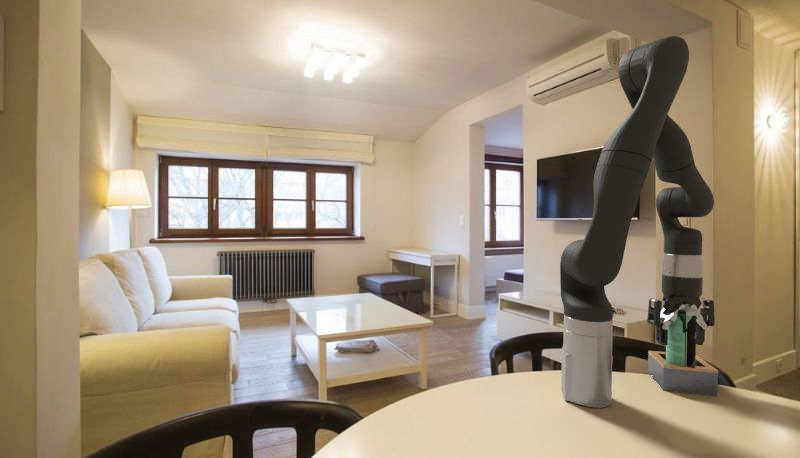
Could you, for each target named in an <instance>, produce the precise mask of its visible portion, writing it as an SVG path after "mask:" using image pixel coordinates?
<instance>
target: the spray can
mask: <svg viewBox="0 0 800 458" xmlns="http://www.w3.org/2000/svg"><path fill="white" fill-rule="evenodd" d="M682 305H685V308H683V309H681V310H678V313H677V319H676V320H675V321H674V322H672V323H671V324H670V325H669V326H668V328H667V330H668V344H667V345H665V352H666V361H667V362H668V363H669V364H679V365H690V366H695V360H696V355H697V354H696V352H697V351H696V349H697V348H696V347H697V344H696V312H695V311H696V310H694V309H693V308H691V307H690V306H689V304H687V302H682ZM674 310H675V309H674ZM670 315H671V313H667V316H670Z"/></svg>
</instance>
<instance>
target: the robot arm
mask: <svg viewBox="0 0 800 458" xmlns="http://www.w3.org/2000/svg"><path fill="white" fill-rule="evenodd" d="M689 49H690V48H689V45H688V43H687V42H686V40H685V39H684V38H683V37H680V36H679V35H678V36H677V35H672V36H667V37H661V38H660V39H657V40H653V41H651V42H648V43H644V44H642V45H639V46H637V47H634V48H631V49H630V50H628V51H626V52H625V53H624V54H623V55H622V56H621V59H620V60H619V63H618V68H617V69H618V71H617V72H618V74H617V75H618V79H619V82H620V85H621V88H622V91H623V92H624V95H625V96H626V99H627V100H628V103H629V105H630V107H631V109H632V110H631V112H630V113H629V114H628V115H627V116H626V117H625V119H623V121H622V122H621V123H619V125H618V126H617V128H616V129H614V131H613V132H611V133H612V134H611V135H610V136H609V137H608V139H607V140H606V141H605V143H604V145H603V147H602V150H601V151H600V155H599V159H598V161H597V164H596V167H595V172H594V176H593V189H592V190H593V212H592V216H591V217H592V218H591V220H590V222H589V226H588V229H587V231H586V234H585V237H584V239H577V240H574V241H572V242H570V243H569V244H567V245H566V246H565V247H564V249H563V250H562V253H561V255H560V265H559V267H560V269H559V275H560V276H559V277H560V282H559V283H560V298H561V299H560V300H561V302H562V304H563V305H562V306H563V342H562V344H563V346H561V377H560V378H561V382H560V383H561V385H560V388H561V392H562V395H563V398H564V401H565V402H567V401H568V402H571V403H574V404H577V405H580V406H583V407H589V408H599V409H600V408H607V407H608V406H610V405H611V404H612V395H613V390H612V389H613V388H612V387H613V386H612V385H613V327H614V325H613V320H614V319H613V317H614V316H613V315H614V308H613V305H612V304H611V302H610V300H609V298H608V297H607V294H606V289H605V287H606V286H607V285H609V284H611V283H612V282H614V281H615V279H616V278H617V277H618V275H619V273H620V271H621V268H622V264H623V260H624V254H625V250H626V244H627V242H628V241H627V239H628V235H629V230H630V226H631V222H632V219H633V217H634V213H635V211H636V207H637V205H638V202H639V199H640V195H641V193H642V190H643V186H644V184H645V181H646V179H647V176H648V173H649V171H650V167H651V165H652V160H653V163H654V168H655V172H656V175H657V177H658V179H659V180H660V181H661V182H664V183H668V184H674V185H678V186H676V187H673V186H672V187H666V188H663V189H661V190H660V191H659V192H658V194H657V196H656V199H655V209H656V211H657V216H658V217H659V221H660V224H661V225H660V226H661V229H662V233H663V257H662V262H661V263H662V264H661V292H662V294H663V297H662V299H656V298H654V297H651V298H649V299H648V308H647V309H648V310H647V324H648V325H652V326H654V327H655V340H656V342H657V344H659V345H661V346H666V345H667V344H668V330H667V328H668V326H669V325H670V324H671V323H672V322H674V321H675V320H676V319H677V313H678V310H681V309H683V308H685V305H682V302H687V304H689V306H690V307H691V308H693V309H694V310H696V311H695V312H696V346H703V345H704V343H705V342H706V341H705V336H706V330H707V329H708V327H714V326H715V323H716V321H715V301H714V300H711V299H709V298H705V297H704V298H703V297H702V295H703V288H704V287H703V284H704V283H703V281H704V279H703V276H704V275H703V274H704V262H703V255H702V254H703V233H702V231H700V230H699V229H696V228H692V227H687V226H684V225H682V223H681V222H680V219H679V218H704V217H706V216H708V215H709V214H710V213H711V212H712V210H713V208H714V205H715V198H714V194H713V192H712V190H711V188H710V187H709V185H708V183H707V182H706V181H705V179H704V178H703V176H702V174H701V173H700V171H699V170H698V168H697V166H696V163H695V159H694V154H693V151H692V147H691V143H690V140H689V137H688V136H687V133H686V132H685V131H684V130H683V129H682V128H681V126H680V125H679V124H677V122H676V121H675V120H674V119H673V118H672V117H671V116H670V115H669V112H670V109H671V107H672V105H673V103H674V100H675V99H676V97H677V94H678V92H679V89H680V88H681V85H682V83H683V80H684V78H685V75H686V72H687V71H688V70H687V69H688V65H689V60H690V50H689ZM700 297H702V298H700ZM674 309H675V310H674ZM699 309H700V311H699ZM667 313H671V315H670V316H667Z"/></svg>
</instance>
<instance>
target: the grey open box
mask: <svg viewBox="0 0 800 458" xmlns="http://www.w3.org/2000/svg"><path fill="white" fill-rule="evenodd" d="M647 354H648V355H647V356H648V357H647V360H648V361H647V374H648V375H649V376H650V375H653V376H652V377H653V378H654V379H653V378H652V377H651V378H652V379H653V381H654V382H655V381H656V382H657V383H658V384H659V385H660V386H659V385H658V384H657V383H656V382H655V383H656V384H657V385H658V386H659V388H661V390H662V391H665V390H668V391H667V392H673V391H677V392H676V393H682V392H683V394H684V393H685V394H693V395H700V396H701V395H702V396H709V397H718V392H719V391H718V390H719V389H718V388H719V387H718V386H719V385H718V384H719V382H718V381H719V369H717V368H715V366H713V365H711V364H710V363H708V362H707V361H706V360H705V359H703V358H701V356H700V355H697V354H696V360H695V366H690V365H679V364H669V363H668V362H667V361H666V351H658V350H648V351H647Z"/></svg>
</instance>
